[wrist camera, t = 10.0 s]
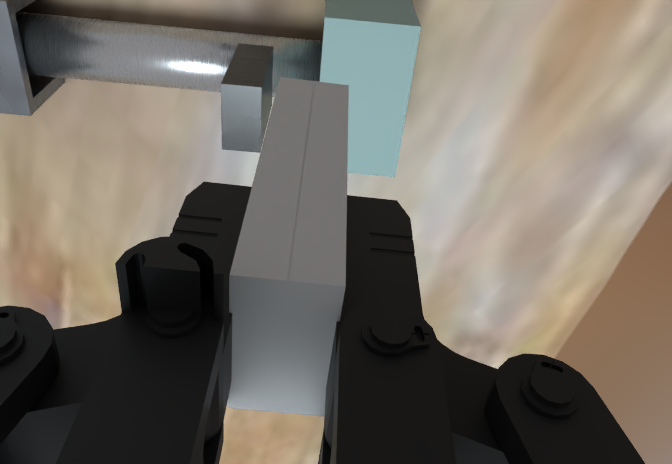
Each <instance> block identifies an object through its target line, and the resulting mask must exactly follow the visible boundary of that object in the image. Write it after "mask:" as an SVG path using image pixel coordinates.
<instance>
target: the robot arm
mask: <svg viewBox="0 0 672 464" xmlns="http://www.w3.org/2000/svg"><path fill="white" fill-rule="evenodd" d="M348 104H349V85H343V84H335V83H326V82H318V81H309V80H300V79H292V78H283V77H280V79H279V83H278V87H277V91H276V95H275V99H274V103H273V107H272V111H271V115H270V118H269V122H268V126H267V130H266V134H265V138H264V142H263V146H262V150H261V154H260V158H259V161H258V165H257V169H256V173H255V177H254V181H253V185H252V187H248V186H239V185H229V184H220V183H211V182H203V183H202V184H201V185H199V186H198V187H197V188H196V189H194V190H193V191H192V192H191V193H190V194H188V195H187V196H186V198H185V200H184V203H183V205H182V208H181V210H180V212H179V217H178V218H177V220H176V222H175V225H174V227H173V231H172V233H171V234H170V237H159V238H155V239H151V240H147V241H143V242H141V243H139V244H137V245H136V246H134V247H132V248H130V249H129V250H127V251H125V253H124V254H123V255H122V256H121V257H120V258H119V260H118V261H117V262H116V263H115V265H116V272H117V279H118V287H119V294H120V301H121V308H122V313H121V315H119V316H117V317H114V318H112V319H109V320H107V321H103V322H99V323H94V324H90V325H83V326H76V327H69V328H62V329H55V330H53V328H52V326H51V325H50V323H49V322H48V320H47V319H46V317H45V316H44V315H42V314H40V313H38V312H36V311H34V310H32V309H30V308H24V307H16V306H3V307H0V464H219V461H220V456H221V451H222V445H223V420H224V415H225V410H226V405H227V400H228V408H236V409H247V410H258V411H269V412H281V413H292V414H303V415H314V416H324V415H325V420H324V431H323V437H322V443H321V449H320V455H319V461H318V464H645V463H644V461H643V460H642V458H641V457H640V455H639V454H638V452H637V451H636V449H635V448H634V446H633V445H632V443H631V442H630V441H629V439H628V437H627V436H626V435H625V433H624V432H623V430H622V429H621V427H620V426H619V424H618V423H617V422H616V420H615V418H614V417H613V415H612V414H611V412H610V411H609V410H608V408H607V406H606V405H605V404H604V402H603V401H602V399H601V398H600V396H599V395H598V393H597V392H596V390H595V389H594V388H593V386H592V385H591V384H590V383H589V382H588V381H587V380H586V379H585V378H584V377H583V376H582V374H581V373H579V372H578V371H576V370H575V369H573V368H572V367H570V366H569V365H567V364H565V363H564V362H562V361H559V360H556V359H554V358H551V357H548V356H545V355H538V354H521V355H518V356H514V357H511V358H509V359H507V360H506V361H505V362H504V363H503V364H502V365H501V366H500V367H499V369H496V368H493V367H490V366H487V365H485V364H482V363H479V362H476V361H473V360H471V359H468V358H466V357H464V356H461V355H459V354H457V353H455V352H453V351H452V350H450V349H449V348H447V347H446V346H444V345H443V344H441V343H440V342H439V341H438V340H437V338H436V336H435V333H434V331H433V328H432V327H431V326H430V325H429V324H428V323H427V322H426V321H425V320H424V316H423V312H422V305H421V297H420V289H419V282H418V274H417V267H416V259H415V256H414V253H415V251H414V244H413V240H412V237H413V236H412V229H411V221H410V217H409V216H408V215H407V213H406V212H405V211H404V209H403V208H402V207H401V205H400V204H399V203H398V202H397V201H395V200H386V199H377V198H368V197H358V196H349V195H347V166H348Z"/></svg>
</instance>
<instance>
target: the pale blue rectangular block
mask: <svg viewBox="0 0 672 464" xmlns="http://www.w3.org/2000/svg"><path fill="white" fill-rule="evenodd" d="M420 29H421V25H420V23H419V20H418V17H417V14H416V11H415V8H414V6H413V3H412V0H326V8H325V20H324V32H323V45H322V57H321V70H320V82H326V83H335V84H343V85H349V104H348V166H347V173H353V174H365V175H376V176H388V177H395V175H396V169H397V163H398V158H399V152H400V146H401V140H402V134H403V128H404V123H405V117H406V111H407V105H408V99H409V93H410V88H411V82H412V76H413V70H414V64H415V58H416V53H417V47H418V41H419V35H420Z"/></svg>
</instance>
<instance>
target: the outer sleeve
mask: <svg viewBox="0 0 672 464" xmlns="http://www.w3.org/2000/svg"><path fill="white" fill-rule="evenodd" d="M34 1H35V0H0V113H5V114H16V115H28V116H31V115H32V114H33V113H34V112H35V111H36V110H37V109H38V108H39V107H40V106H41V105H42V104H43V103H44V102H45V101H46V100H47V99H48V98H49V97H50V96H51V95H52V94H53V93H55V92H56V91H57V90H58V89H59V88H60V87H61V86H62V85H63V84H64V83H65V82H64V78H59V77H48V76H37V75H28V72H27V67H26V62H25V58H24V53H23V48H22V44H21V39H20V34H19V29H18V25H17V20H16V15H15V13H16V12H18V11H19V10H21V9H22V8H24V7H26V6H27V5H29V4H30V3H32V2H34Z"/></svg>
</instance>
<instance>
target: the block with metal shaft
mask: <svg viewBox="0 0 672 464" xmlns="http://www.w3.org/2000/svg"><path fill="white" fill-rule="evenodd" d="M15 15H16V20H17V25H18V29H19V34H20V39H21V44H22V48H23V53H24V58H25V62H26V67H27V72H28V75H37V76H48V77H59V78H70V79H81V80H92V81H103V82H114V83H125V84H136V85H147V86H158V87H169V88H180V89H191V90H202V91H213V92H221V119H222V149H225V150H236V151H248V152H259V153H260V152H261V147H262V143H263V139H264V135H265V131H266V127H267V123H268V119H269V114H270V110H271V106H272V97H275V95H276V91H277V87H278V83H279V79H280V77H283V78H292V79H300V80H309V81H318V82H320V70H321V57H322V45H323V41H319V40H309V39H298V38H288V37H277V36H267V35H256V34H246V33H235V32H225V31H214V30H204V29H193V28H183V27H172V26H162V25H151V24H141V23H130V22H120V21H109V20H99V19H89V18H78V17H68V16H57V15H47V14H36V13H26V12H16V13H15Z"/></svg>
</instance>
